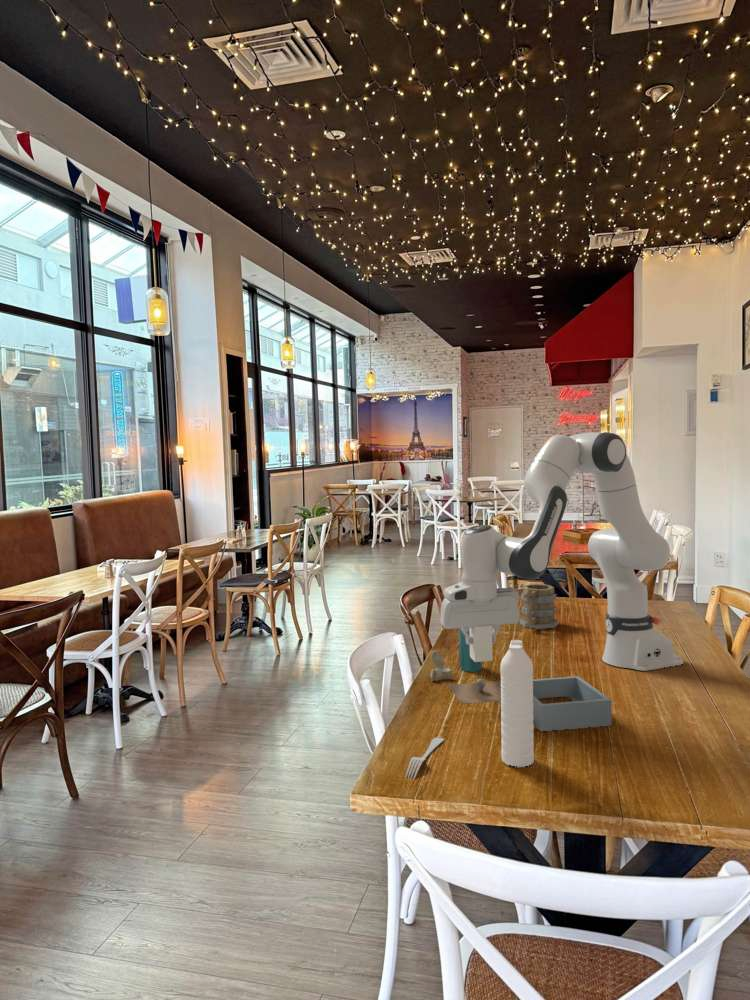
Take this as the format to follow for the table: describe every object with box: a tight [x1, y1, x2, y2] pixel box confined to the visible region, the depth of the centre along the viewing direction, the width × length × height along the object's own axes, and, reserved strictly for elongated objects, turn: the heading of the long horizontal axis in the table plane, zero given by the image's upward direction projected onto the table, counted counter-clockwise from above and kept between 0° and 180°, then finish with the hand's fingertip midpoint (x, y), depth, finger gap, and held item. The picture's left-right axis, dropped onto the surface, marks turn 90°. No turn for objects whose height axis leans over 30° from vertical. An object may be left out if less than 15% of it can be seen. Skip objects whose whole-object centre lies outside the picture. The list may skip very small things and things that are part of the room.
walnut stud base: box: [447, 678, 501, 705], centre depth 175 cm, size 14×14×5 cm
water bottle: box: [500, 639, 535, 768], centre depth 137 cm, size 9×6×25 cm
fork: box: [404, 737, 446, 781], centre depth 142 cm, size 3×21×3 cm, turn 157°
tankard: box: [519, 583, 559, 630], centre depth 242 cm, size 20×13×15 cm, turn 144°
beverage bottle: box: [458, 628, 483, 673], centre depth 193 cm, size 6×7×20 cm
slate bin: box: [533, 675, 612, 732], centre depth 162 cm, size 17×17×6 cm
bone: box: [429, 650, 455, 682], centre depth 187 cm, size 9×6×10 cm
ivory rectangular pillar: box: [469, 625, 494, 663], centre depth 174 cm, size 5×5×9 cm
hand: (480, 642), depth 174 cm, fingers closed on ivory rectangular pillar, 5 cm apart
